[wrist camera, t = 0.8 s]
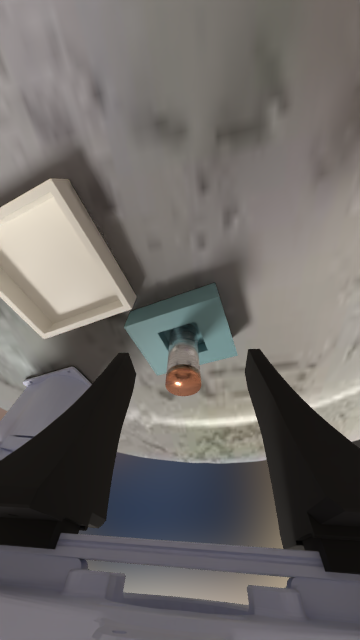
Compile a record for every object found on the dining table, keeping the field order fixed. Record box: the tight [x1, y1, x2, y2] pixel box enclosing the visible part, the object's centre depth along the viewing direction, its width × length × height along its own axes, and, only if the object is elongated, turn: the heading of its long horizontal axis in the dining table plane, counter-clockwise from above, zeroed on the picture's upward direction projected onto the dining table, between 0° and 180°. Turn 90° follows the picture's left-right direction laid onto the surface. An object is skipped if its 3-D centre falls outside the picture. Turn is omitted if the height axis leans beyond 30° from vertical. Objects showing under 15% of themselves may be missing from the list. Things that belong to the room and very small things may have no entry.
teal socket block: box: [124, 283, 237, 375], centre depth 22 cm, size 10×8×3 cm
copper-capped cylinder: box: [166, 324, 201, 396], centre depth 19 cm, size 3×3×7 cm
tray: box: [0, 178, 137, 339], centre depth 19 cm, size 11×11×2 cm
